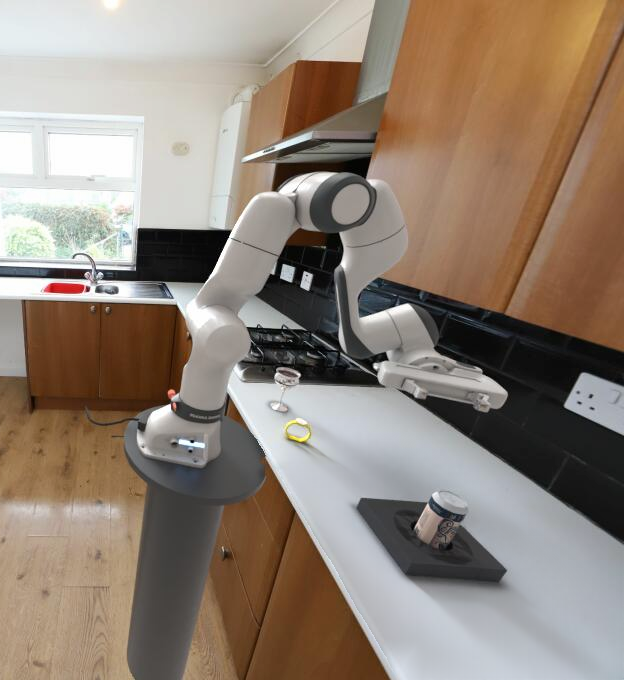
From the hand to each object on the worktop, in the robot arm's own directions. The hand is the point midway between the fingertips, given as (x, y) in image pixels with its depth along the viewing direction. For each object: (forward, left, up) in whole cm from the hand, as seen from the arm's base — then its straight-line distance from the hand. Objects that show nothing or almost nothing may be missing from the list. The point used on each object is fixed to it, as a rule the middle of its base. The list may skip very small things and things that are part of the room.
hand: (452, 401), depth 67 cm
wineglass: (-13, +35, -25) cm, 45 cm away
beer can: (-4, -11, -25) cm, 28 cm away
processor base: (-4, -10, -25) cm, 27 cm away
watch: (-15, +19, -25) cm, 35 cm away
